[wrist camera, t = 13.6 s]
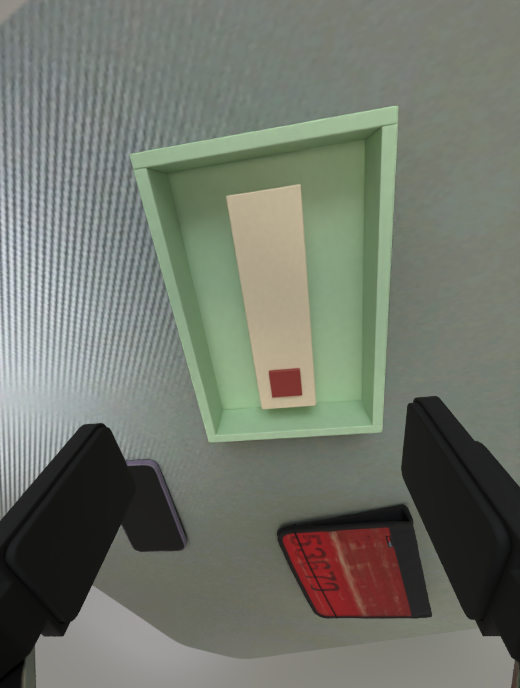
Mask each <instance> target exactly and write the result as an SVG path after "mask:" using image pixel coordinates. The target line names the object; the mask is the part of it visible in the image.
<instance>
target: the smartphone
mask: <svg viewBox="0 0 520 688" xmlns="http://www.w3.org/2000/svg"><path fill="white" fill-rule="evenodd" d="M126 463H127V465H128V468H129V470H130V472H131V474H132V476H133V478H134V480H135V483H136V493H135V495H134V498H133V500H132V502H131V504H130V506H129V508H128V510H127V512H126V514H125V517H124V519H123V521H122V523H121V525H122V527H123V529H124V531H125V533H126V535H127V537H128V539H129V541H130V543H131V545H132V547H133V548H134V549H135V550H137V551H140V552H156V551H181V550H183V549H184V548H185V546H186V542H187V540H186V537H185V535H184V532H183V529H182V527H181V524H180V521H179V519H178V516H177V513H176V511H175V508H174V505H173V503H172V500H171V497H170V495H169V492H168V489H167V487H166V484H165V481H164V479H163V476H162V473H161V471H160V468H159V466H158V464H157V463H156V462H154V461H152V460H134V461H126Z"/></svg>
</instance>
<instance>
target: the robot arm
mask: <svg viewBox="0 0 520 688" xmlns="http://www.w3.org/2000/svg"><path fill="white" fill-rule="evenodd" d="M401 470H402V476H403V479H404V481H405V484H406V486H407V488H408V490H409V492H410V495H411V497H412V499H413V501H414V504H415V506H416V508H417V510H418V512H419V515H420V517H421V519H422V521H423V523H424V526H425V528H426V530H427V532H428V534H429V537H430V539H431V541H432V543H433V545H434V548H435V550H436V552H437V554H438V556H439V559H440V561H441V563H442V565H443V567H444V570H445V572H446V574H447V576H448V578H449V581H450V583H451V585H452V587H453V589H454V592H455V594H456V596H457V598H458V600H459V603H460V605H461V607H462V609H463V611H464V613H465V614H466V616H467V617H468V618H469V619H471V620H475V621H476V623H477V625H478V627H479V629H480V631H481V633H482V635H483V636H501V638H502V640H503V642H504V644H505V646H506V647H507V650H508V652H509V654H510V655H511V657H512V658H513V659H515V664H514V670H513V678H512V686H511V688H520V487H519V486H518V485H517V483H516V482H515V481H514V480H513V479H512V477H511V476H510V475H509V474H508V473H507V472H506V470H505V469H504V468H503V467H502V466H501V464H500V463H499V462H498V461H497V460H496V459H495V457H494V456H493V455H492V454H491V453H490V451H489V450H488V449H487V448H486V447H485V446H484V445H483V444H482V443H480V442H478V441H474V440H473V438H472V437H471V436H470V435H469V434H468V432H467V431H466V430H465V429H464V427H463V426H462V425H461V424H460V423H459V421H458V420H457V419H456V418H455V416H454V415H453V414H452V413H451V412H450V410H449V409H448V408H447V407H446V405H445V404H444V403H443V402H442V401H441V399H440V398H439V397H437V396H430V397H418V398H415V399H414V401H413V403H409V404H408V406H407V416H406V426H405V436H404V446H403V456H402V466H401ZM135 493H136V483H135V480H134V478H133V476H132V474H131V472H130V470H129V468H128V465H127V463H126V461H125V459H124V457H123V455H122V453H121V451H120V449H119V446H118V444H117V442H116V440H115V438H114V436H113V434H112V432H111V430H110V428H108V427H106V426H105V425H104V424H103V423H97V424H85V425H82V426H81V427H80V428H79V429H78V430H77V431H76V433H75V434H74V435H73V436H72V437H71V439H70V440H69V441H68V442H67V443H66V444H65V446H64V447H63V448H62V449H61V450H60V451H59V453H58V454H57V455H56V456H55V457H54V459H53V460H52V461H51V462H50V463H49V464H48V466H47V467H46V468H45V469H44V470H43V471H42V473H41V474H40V475H39V476H38V477H37V479H36V480H35V481H34V482H33V483H32V484H31V486H30V487H29V488H28V489H27V490H26V491H25V493H24V494H23V495H22V496H21V497H20V498H19V500H18V501H17V502H16V503H15V504H14V506H13V507H12V508H11V509H10V510H9V511H8V513H7V514H6V515H5V516H4V517H3V518H2V520H1V521H0V688H36V674H35V673H36V670H35V644H36V642H37V640H38V638H39V636H40V634H42V635H43V636H64V634H65V632H66V630H67V628H68V626H69V624H70V622H71V621H73V620H74V619H75V617H77V615H78V613H79V612H80V610H81V607H82V605H83V603H84V601H85V599H86V597H87V595H88V593H89V590H90V588H91V586H92V584H93V582H94V580H95V578H96V576H97V574H98V572H99V569H100V567H101V565H102V563H103V561H104V559H105V557H106V555H107V552H108V550H109V548H110V546H111V544H112V542H113V540H114V538H115V536H116V533H117V531H118V529H119V527H120V525H121V523H122V521H123V519H124V517H125V514H126V512H127V510H128V508H129V506H130V504H131V502H132V500H133V498H134V495H135Z"/></svg>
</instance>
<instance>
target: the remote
mask: <svg viewBox="0 0 520 688" xmlns="http://www.w3.org/2000/svg"><path fill="white" fill-rule="evenodd" d="M226 201H227V206H228V212H229V218H230V224H231V230H232V236H233V242H234V248H235V254H236V260H237V266H238V272H239V278H240V283H241V289H242V295H243V301H244V307H245V313H246V319H247V325H248V331H249V337H250V343H251V349H252V355H253V361H254V366H255V372H256V378H257V384H258V390H259V396H260V402H261V408H262V409H275V408H289V407H303V406H316V392H315V378H314V364H313V349H312V335H311V321H310V307H309V292H308V278H307V264H306V250H305V235H304V221H303V207H302V193H301V185H300V184H298V185H291V186H285V187H279V188H273V189H266V190H260V191H254V192H248V193H241V194H235V195H229V196H226Z"/></svg>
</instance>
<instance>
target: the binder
mask: <svg viewBox="0 0 520 688" xmlns="http://www.w3.org/2000/svg"><path fill="white" fill-rule="evenodd" d="M277 537H278V542H279V545H280V547H281V549H282V551H283V553H284V556H285V558H286V560H287V562H288V564H289V566H290V568H291V570H292V572H293V574H294V576H295V578H296V580H297V582H298V584H299V586H300V588H301V590H302V592H303V594H304V596H305V598H306V599H307V601H308V603H309V605H310V607H311V608H312V610H313V612H314V613H315V614H316V615H318V616H320V617H323V618H336V619H337V618H427V617H432V612H431V608H430V604H429V599H428V594H427V590H426V585H425V580H424V575H423V570H422V565H421V560H420V557H419V551H418V545H417V540H416V536H415V531H414V527H413V518H412V516H411V514H410V512H409V509H408V508H407V507H406V506H405V505H398V506H393V507H388V508H384V509H379V510H375V511H370V512H364V513H359V514H354V515H348V516H343V517H337V518H332V519H327V520H321V521H315V522H310V523H304V524H298V525H296V524H294V525H293V526H287V527H283V528H281V529H280V530H279V531H278V532H277Z"/></svg>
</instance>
